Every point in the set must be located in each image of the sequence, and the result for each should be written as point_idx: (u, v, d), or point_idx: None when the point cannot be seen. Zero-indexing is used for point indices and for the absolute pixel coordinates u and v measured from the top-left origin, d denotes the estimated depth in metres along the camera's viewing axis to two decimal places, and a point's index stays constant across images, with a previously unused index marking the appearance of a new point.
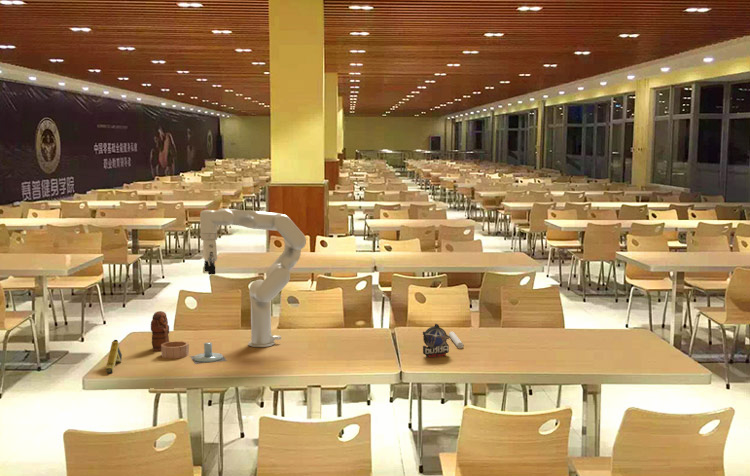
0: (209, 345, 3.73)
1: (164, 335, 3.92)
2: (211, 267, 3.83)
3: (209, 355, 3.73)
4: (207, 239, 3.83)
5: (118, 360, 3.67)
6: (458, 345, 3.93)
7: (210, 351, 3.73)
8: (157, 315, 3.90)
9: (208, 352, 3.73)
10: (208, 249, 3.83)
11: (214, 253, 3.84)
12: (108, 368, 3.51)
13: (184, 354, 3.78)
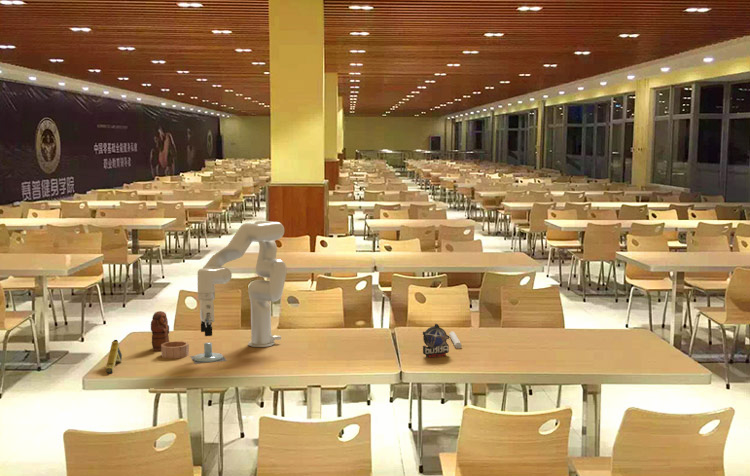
0: (209, 345, 3.73)
1: (164, 335, 3.92)
2: (208, 328, 3.67)
3: (209, 355, 3.73)
4: (204, 299, 3.68)
5: (118, 360, 3.67)
6: (456, 345, 3.93)
7: (210, 351, 3.73)
8: (157, 315, 3.90)
9: (208, 352, 3.73)
10: (205, 310, 3.67)
11: (211, 314, 3.68)
12: (108, 368, 3.51)
13: (184, 354, 3.78)
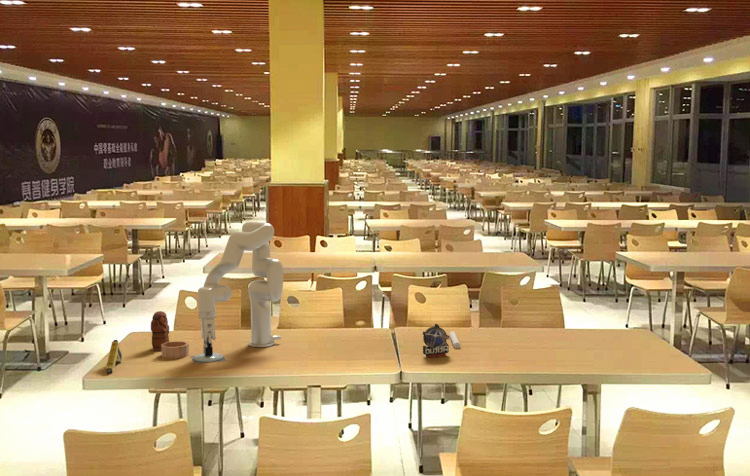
0: None
1: (164, 335, 3.92)
2: (208, 348, 3.71)
3: None
4: (205, 318, 3.69)
5: (118, 360, 3.67)
6: (455, 345, 3.92)
7: None
8: (157, 315, 3.90)
9: None
10: (206, 329, 3.68)
11: (212, 332, 3.69)
12: (108, 368, 3.51)
13: (184, 354, 3.78)
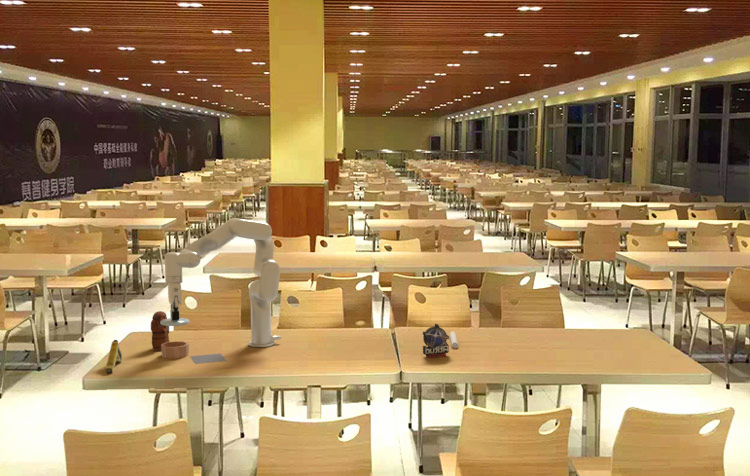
0: None
1: (164, 335, 3.92)
2: (175, 313, 3.75)
3: None
4: (172, 282, 3.73)
5: (118, 360, 3.67)
6: (453, 345, 3.93)
7: None
8: (157, 315, 3.90)
9: None
10: (173, 293, 3.72)
11: (179, 297, 3.73)
12: (108, 368, 3.51)
13: (184, 354, 3.78)
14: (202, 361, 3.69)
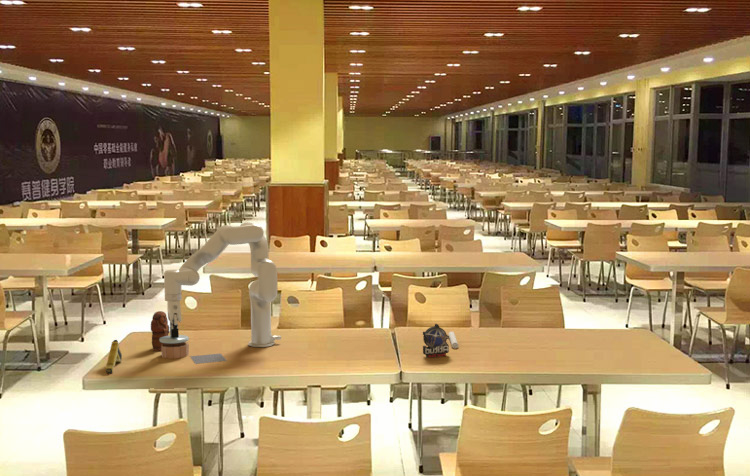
0: None
1: (164, 335, 3.92)
2: (174, 330, 3.77)
3: None
4: (171, 300, 3.74)
5: (118, 360, 3.67)
6: (453, 345, 3.92)
7: None
8: (157, 315, 3.90)
9: None
10: (172, 310, 3.74)
11: (178, 314, 3.75)
12: (108, 368, 3.51)
13: (184, 354, 3.78)
14: (202, 361, 3.69)
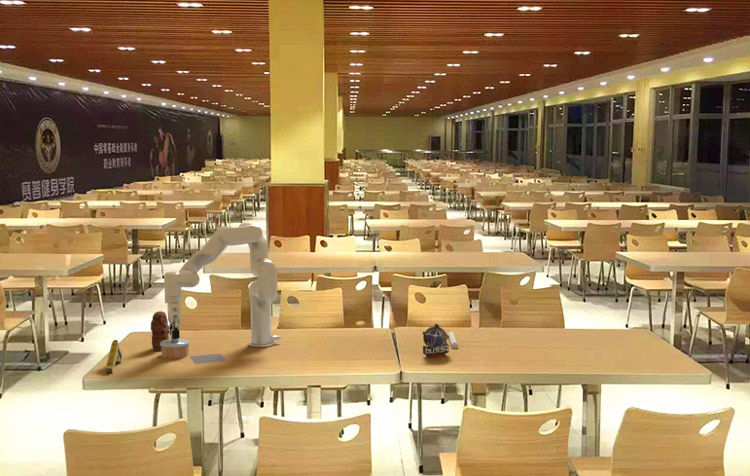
0: None
1: (164, 335, 3.92)
2: (175, 331, 3.75)
3: (175, 341, 3.79)
4: (171, 302, 3.74)
5: (118, 360, 3.67)
6: (452, 345, 3.92)
7: None
8: (157, 315, 3.90)
9: None
10: (172, 312, 3.74)
11: (178, 316, 3.75)
12: (108, 368, 3.51)
13: (184, 354, 3.78)
14: (202, 361, 3.69)
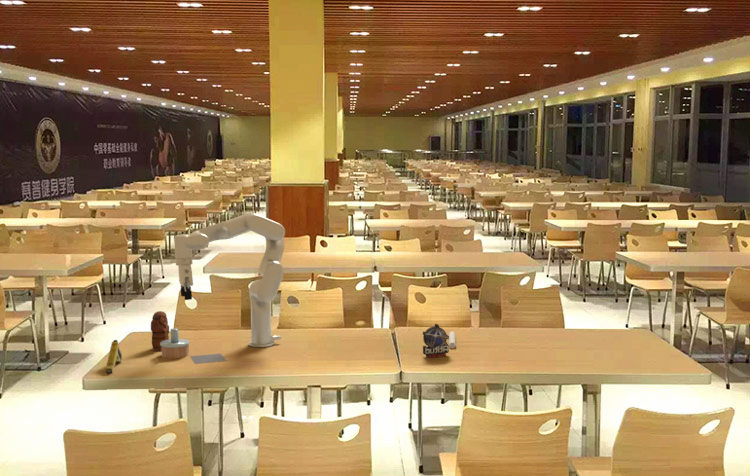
0: (175, 331, 3.78)
1: (164, 335, 3.92)
2: (187, 292, 3.78)
3: (175, 341, 3.79)
4: (182, 264, 3.78)
5: (118, 360, 3.67)
6: (450, 345, 3.93)
7: (176, 337, 3.79)
8: (157, 315, 3.90)
9: (174, 338, 3.78)
10: (183, 274, 3.77)
11: (190, 278, 3.78)
12: (108, 368, 3.51)
13: (184, 354, 3.78)
14: (202, 361, 3.69)
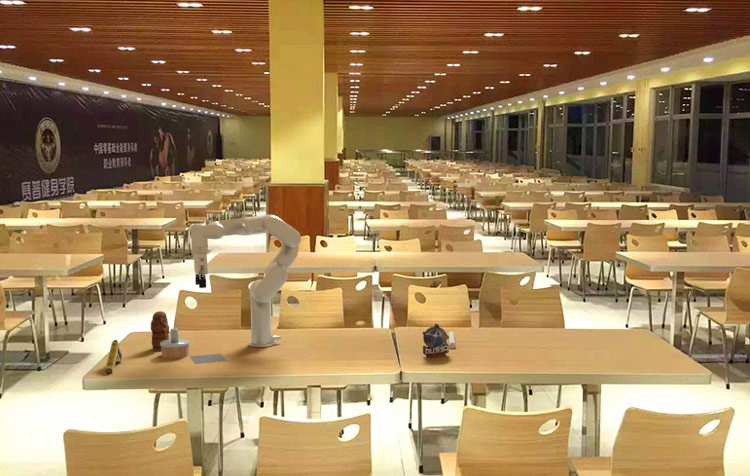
0: (175, 331, 3.78)
1: (164, 335, 3.92)
2: (202, 281, 3.84)
3: (175, 341, 3.79)
4: (198, 253, 3.85)
5: (118, 360, 3.67)
6: (450, 345, 3.93)
7: (176, 337, 3.79)
8: (157, 315, 3.90)
9: (174, 338, 3.78)
10: (199, 263, 3.84)
11: (205, 267, 3.85)
12: (108, 368, 3.51)
13: (184, 354, 3.78)
14: (202, 361, 3.69)
